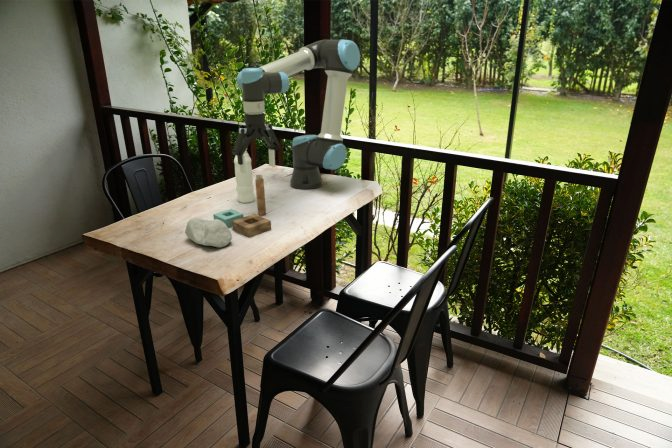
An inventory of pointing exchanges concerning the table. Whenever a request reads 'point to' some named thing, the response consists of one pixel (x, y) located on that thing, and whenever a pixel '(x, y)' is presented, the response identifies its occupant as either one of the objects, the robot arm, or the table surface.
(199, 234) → the decorative stone
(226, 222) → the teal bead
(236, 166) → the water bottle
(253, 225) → the brown square socket block
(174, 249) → the table surface
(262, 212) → the brown wooden square peg
